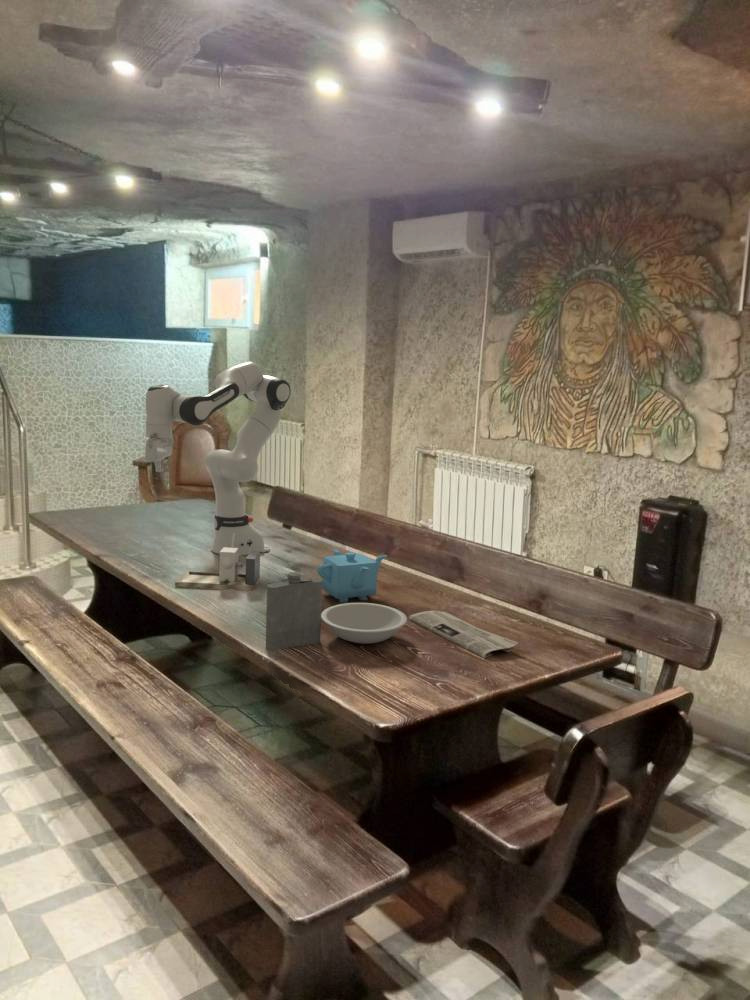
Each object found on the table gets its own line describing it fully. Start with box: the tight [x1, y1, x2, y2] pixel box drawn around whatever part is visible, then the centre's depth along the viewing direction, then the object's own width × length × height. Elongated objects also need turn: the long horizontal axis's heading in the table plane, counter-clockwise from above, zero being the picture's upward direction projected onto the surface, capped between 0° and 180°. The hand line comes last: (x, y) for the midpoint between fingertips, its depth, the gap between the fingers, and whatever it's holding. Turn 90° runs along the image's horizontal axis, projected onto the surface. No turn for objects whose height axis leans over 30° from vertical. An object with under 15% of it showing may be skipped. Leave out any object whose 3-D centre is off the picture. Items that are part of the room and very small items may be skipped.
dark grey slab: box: [245, 551, 261, 585], centre depth 261 cm, size 3×10×9 cm, turn 179°
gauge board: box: [174, 571, 261, 592], centre depth 262 cm, size 26×12×2 cm, turn 89°
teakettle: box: [316, 548, 388, 604], centre depth 253 cm, size 19×19×15 cm
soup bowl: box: [321, 602, 408, 644], centre depth 218 cm, size 24×24×7 cm
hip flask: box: [265, 571, 323, 652], centre depth 210 cm, size 16×4×20 cm, turn 121°
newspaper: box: [408, 610, 519, 660], centre depth 224 cm, size 35×12×4 cm, turn 34°
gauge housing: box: [218, 547, 244, 583], centre depth 259 cm, size 7×9×10 cm
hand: (159, 471), depth 274 cm, fingers closed
